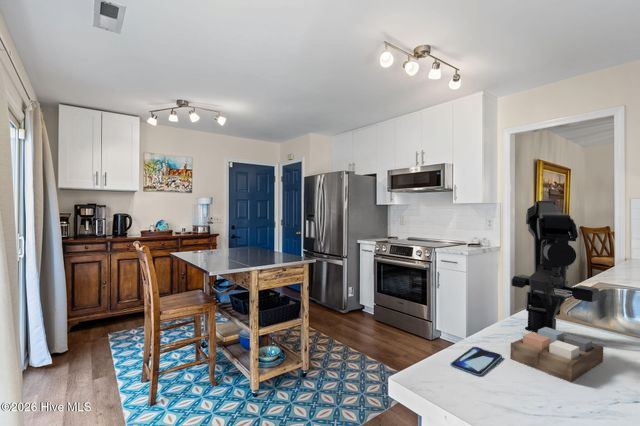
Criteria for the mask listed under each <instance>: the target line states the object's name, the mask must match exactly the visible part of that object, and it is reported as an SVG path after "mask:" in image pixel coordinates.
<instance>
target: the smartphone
mask: <svg viewBox="0 0 640 426" xmlns="http://www.w3.org/2000/svg"><path fill="white" fill-rule="evenodd" d="M502 359H503V355H502V354H500V353H498V352H494V351H491V350H489V349H484V348H482V347H479V346H472V347H471V348H469V349H468V350H466V351H465V352H463V353H462V354H461V355H459V356H458V357H457V358H455V359H454V360H453V361H452V362H450V367H451V368H455V369H458V370H460V371H462V372H465V373H468V374H470V375H473V376H476V377H483V376H484V375H485V374H486V373H487V372H488V371H489V370H491V369H492V368H493V367H494V366H495V365H496V364H498V362H500V361H501V360H502Z"/></svg>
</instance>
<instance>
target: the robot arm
mask: <svg viewBox="0 0 640 426" xmlns="http://www.w3.org/2000/svg"><path fill="white" fill-rule="evenodd" d="M526 210H527V211H526V214H525V225H527V231H528V232H529V234H530V235H531V236H532V237H533V273H532V274H531V275H525V274H520V275H518V274H517V275H514V276H513V277H512V278H511V282H510V283H511V286H512V287H516V288H521V289H523V288H524V287H526V286H528V291H526V294H525V301H524V308H525V311H526V312H527V326H525V327H524V329H525V330H528V331H532V332H533V333H538V330H539V329H541V328H544V327H548V328H551V329H555V330H557V319H556V316H559V315H561V307H562V305H563V304H564V303H565V301H567V299H568V300H569V299H572V298H574V299H575V300H577V301H583V302H586V303H587V302H588V303H594V302H596V301H597V302H598V301H600V300H601V292H600V290H599V289H598V288H597V287H593V286H587V285H582V284H580V285H576V286H569V280H567V270H569V266H571V265H572V264H574V262H575V261H576V260H577V253H576V250H575V249H574V247H573V246H572V245H570V244H569V242H577V239H578V237H579V232H578V230H577V229H578V227H577V223H575V220H574V219H573V218H571V215H570V214H568V213H565V212H560V211H559V210H558V208H557V206H556V201H553V200H537V201H536V200H535V203H534V205H532V206H530V207H529V208H527V209H526Z"/></svg>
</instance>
